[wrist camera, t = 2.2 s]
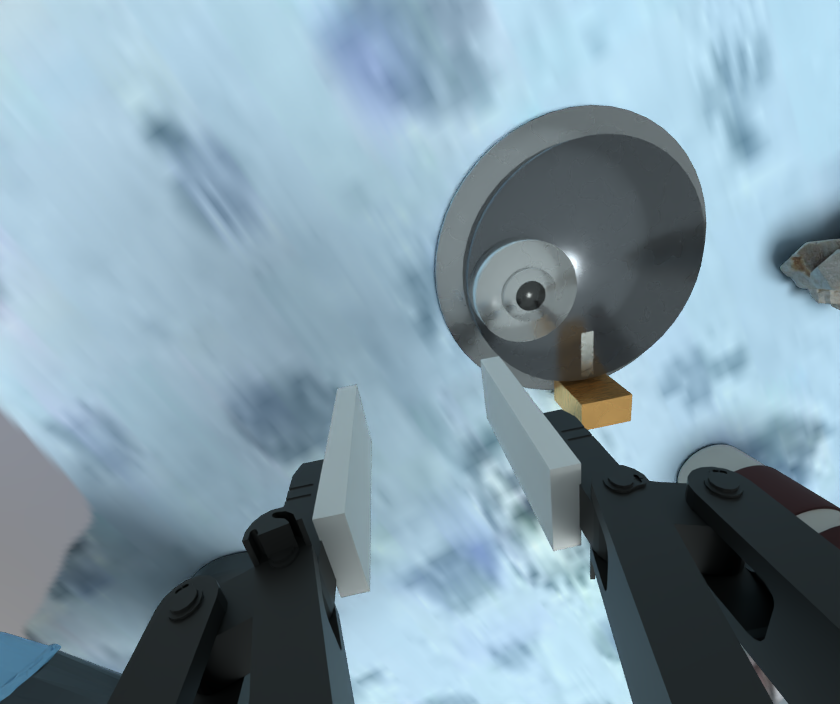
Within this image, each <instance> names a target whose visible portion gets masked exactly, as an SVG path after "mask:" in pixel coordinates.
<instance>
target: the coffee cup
mask: <svg viewBox="0 0 840 704" xmlns="http://www.w3.org/2000/svg"><path fill="white" fill-rule="evenodd" d="M700 467H718V468H724V469H728V470H730V471H733V472H736V473H739V474H740V475H742V476H744V477H745V478H747V479H749V480H750V481H752V482H753V483H754V484H756V485H757V486H758V487H759V488H761V489H762V490H763V491H765V492H766V493H767V494H769V495H770V496H771V497H772V498H774V499H775V500H776V501H778V502H779V503H780V504H781V505H783V506H784V507H785V508H787V509H788V510H789V511H791V512H792V513H793V514H794V515H796V516H797V517H798V518H800V519H801V520H802V521H803V522H805V523H806V524H807V525H809V526H810V527H811V528H812V529H814V530H815V531H816V532H818V533H819V534H820V535H822V536H823V537H824V538H825V539H827V540H828V541H829V542H831V543H832V544H833V545H834V546H836V547H837V548H838V549H840V508H839V507H837V506H835V505H834V504H832V503H830V502H829V501H827V500H825V499H824V498H822V497H820V496H819V495H817V494H815V493H814V492H812V491H810V490H809V489H807V488H806V487H804V486H802V485H801V484H799V483H797V482H796V481H794V480H792V479H791V478H789V477H787V476H786V475H784V474H782V473H781V472H779V471H777V470H776V469H774V468H771V467H768V466H765V465H763V464H762V463H760V462H758V461H757V460H755V459H753V458H752V457H750V456H748V455H747V454H745V453H744V452H742V451H740V450H739V449H737V448H735V447H732V446H730V445H723V444H719V445H712V446H709V447H706V448H703V449H701V450H699V451H698V452H696V453H695V454H693V455H692V456H691V457H690V458H689V459H688V460H687V461H686V462H685V463H684V465H683V466H682V468H681V470H680V472H679V475H678V483H687V477H688V475H689V474H690V472H691V471H692V470H695V469H697V468H700Z"/></svg>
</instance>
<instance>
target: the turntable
mask: <svg viewBox="0 0 840 704" xmlns="http://www.w3.org/2000/svg"><path fill="white" fill-rule="evenodd" d="M512 237H529V238H533V239H537V240H541V241H544V242H547V243H550V244H552V245H554V246H556V247H558V248H559V249H561V250H562V251H563V252H564V253H565V254H566V255H567V256H568V258H569V259H570V260H571V262H572V264H573V266H574V269H575V272H576V277H577V292H576V297H575V300H574V303H573V306H572V308H571V310H570V312H569V314H568V315H567V317H566V318H565V319H564V321H563V322H562V323H561V324H560V325H559V326H558V327H557V328H556V329H554V330H553V331H552V332H550V333H549V334H547V335H545V336H543V337H541V338H538V339H536V340H532V341H526V342H514V341H509V340H505V339H503V338H500V337H499V336H497V335H495V334H494V333H493V332H491V331H490V330H489V329H488V328H487V327H486V325H485V324H484V323H483V322H482V321H481V319H480V318H479V317H478V316H477V314H476V313H475V311H474V309H473V307H472V305H471V302H470V298H469V281H470V276H471V273H472V270H473V268H474V266H475V264H476V263H477V261H478V260H479V258H480V257H481V256H482V254H483V253H484V252H485V251H486V250H488V249H489V248H490V247H491V246H493V245H494V244H496V243H498V242H500V241H502V240H505V239H508V238H512ZM704 237H705V231H704V218H703V213H702V208H701V203H700V200H699V197H698V195H697V192H696V189H695V187H694V185H693V183H692V182H691V180H690V178H689V176H688V174H687V173H686V172H685V171H684V169H683V168H682V167H681V166H680V164H679V163H678V162H677V161H676V160H675V159H674V158H672V157H671V156H670V155H669V154H668V153H667V152H665V151H664V150H662V149H661V148H659V147H657V146H656V145H654V144H652V143H650V142H647V141H645V140H642V139H640V138H636V137H632V136H627V135H623V134H597V135H588V136H584V137H580V138H576V139H572V140H568V141H565V142H561V143H558V144H555V145H553V146H550V147H548V148H545V149H543V150H541V151H539V152H537V153H536V154H534V155H532V156H530V157H529V158H527V159H525V160H524V161H523V162H522V163H520V164H519V165H518V166H516V167H515V168H514V169H512V170H511V171H510V172H509V173H508V174H507V175H506V176H505V177H504V178H503V179H502V180H501V181H500V182H499V183H498V185H497V186H496V187H495V188H494V190H493V191H492V192H491V193H490V195H489V196H488V197H487V199H486V201H485V202H484V204H483V205H482V207H481V209H480V210H479V212H478V214H477V216H476V219H475V221H474V223H473V225H472V227H471V231H470V234H469V237H468V240H467V243H466V248H465V253H464V258H463V272H462V276H463V290H464V295H465V300H466V304H467V307H468V310H469V313H470V316H471V318H472V320H473V322H474V324H475V326H476V328H477V329H478V331H479V332H480V334H481V335H482V337H483V338H484V339H485V341H486V342H487V343H488V345H489V346H490V347H491V349H492V350H493V351H494V352H495V353H496V354H497V355H498V356H499V357H500V358H501V359H503V360H504V361H505V362H507V363H508V364H509V365H510V366H512V367H514V368H516V369H517V370H519V371H521V372H523V373H526V374H528V375H531V376H533V377H537V378H541V379H545V380H553V381H554V399H555V401H556V402H557V403H558V404H559V405H560V407H561V408H562V409H563V410H564V411H566V412H568V413H570V414H572V415H574V416H575V417H576V418H577V419H578V420H579V421H580V422H581V423H582V424H583V425H584V428H586V429H587V430H589V429H594V428H599V427H603V426H608V425H613V424H618V423H623V422H627V421H631V407H632V394H631V393H630V392H628V391H627V390H626V389H624V388H623V387H622V386H621V385H619V384H618V383H617V382H616V381H614V380H613V379H612V378H610V377H609V376H608V375H607V374H606V373H608V372H611V371H613V370H616V369H618V368H620V367H622V366H623V365H625V364H627V363H629V362H631V361H632V360H634V359H635V358H637V357H638V356H640V355H641V354H642V353H644V352H645V351H646V350H647V349H649V348H650V347H651V346H652V345H653V344H654V343H655V342H656V341H657V340H658V339H659V338H661V337H662V336H663V335H664V333H665V332H666V331H667V330H668V329H669V327H670V326H671V325H672V324H673V323H674V321H675V320H676V318H677V317H678V315H679V314H680V312H681V311H682V309H683V308H684V306H685V304H686V302H687V300H688V299H689V297H690V295H691V292H692V290H693V287H694V285H695V283H696V280H697V277H698V273H699V270H700V267H701V262H702V257H703V251H704Z"/></svg>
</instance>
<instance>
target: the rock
mask: <svg viewBox="0 0 840 704" xmlns="http://www.w3.org/2000/svg"><path fill="white" fill-rule="evenodd" d="M780 269H781V271H782V272H783V273H784V274H786V276H787V277H790V278H791V279H792V280H793V281H794V282H795V284H796V286H797V287H799V288H802V289H808V290H809V292H810V294H811V296H812V298H813V299H814V300H816V301H817V302H818V303H825V304H831V306H833V307H834V308H836V309H839V310H840V239H827V240H820V241H811V242H806V243H805V244H804V245H802V246H801V247H800V248H799V249H798V250H797V251H796V252H795V253H794V254H793V255H792V256H791V257H790V258H789V259H788V260H787V261H785V262H784V263H783V264H782V265H781V266H780Z"/></svg>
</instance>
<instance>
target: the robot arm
mask: <svg viewBox="0 0 840 704" xmlns="http://www.w3.org/2000/svg"><path fill="white" fill-rule="evenodd" d="M480 362H481V371H482V379H483V388H484V397H485V405H486V414H487V419H488V421H489V423H490V425H491V427H492V429H493V431H494V433H495V435H496V437H497V439H498V441H499V443H500V445H501V447H502V449H503V451H504V453H505V455H506V457H507V459H508V461H509V463H510V465H511V467H512V469H513V471H514V473H515V475H516V477H517V479H518V481H519V483H520V485H521V487H522V489H523V491H524V493H525V495H526V497H527V499H528V501H529V503H530V505H531V507H532V509H533V511H534V513H535V515H536V517H537V519H538V521H539V523H540V525H541V527H542V529H543V531H544V533H545V535H546V537H547V539H548V541H549V543H550V545H551V547H552V549H553V551H557V550H561V549H566V548H570V547H575V546H579V545H581V530H582V531H583V533H584V535H585V536H586V538H587V540H588V541H589V543H590V579H595V575H596V578H597V582H598V585H599V589H600V592H601V596H602V599H603V603H604V606H605V609H606V613H607V616H608V620H609V623H610V627H611V630H612V634H613V637H614V640H615V644H616V647H617V651H618V654H619V658H620V661H621V665H622V668H623V671H624V675H625V678H626V682H627V685H628V689H629V692H630V696H631V699H632V702H633V704H773V702H772V700H771V698H770V696H769V695H768V693H767V691H766V689H765V687H764V686H763V684H762V682H761V680H760V678H759V677H758V675H757V673H756V671H755V669H754V668H753V666H752V664H751V662H750V661H749V659H748V657H747V655H746V653H745V652H744V650H743V648H742V646H743V647H744V649H745V650H746V651H747V652H748V654H749V655H750V656H751V657H752V659H753V660H754V661H755V662H756V664H757V665H758V666H759V667H760V669H761V670H762V671H763V672H764V674H765V675H766V676H767V677H768V679H769V680H770V681H771V682H772V684H773V685H774V686H775V687H776V689H777V690H778V691H779V692H780V694H781V695H782V696H783V697H784V699H785V700H786V701H787V702H788V704H840V549H838V548H837V547H836V546H834V545H833V544H832V543H831V542H829V541H828V540H827V539H825V538H824V537H823V536H822V535H820V534H819V533H818V532H816V531H815V530H814V529H812V528H811V527H810V526H809V525H807V524H806V523H805V522H803V521H802V520H801V519H800V518H798V517H797V516H796V515H794V514H793V513H792V512H791V511H789V510H788V509H787V508H785V507H784V506H783V505H781V504H780V503H779V502H778V501H776V500H775V499H774V498H772V497H771V496H770V495H769V494H767V493H766V492H765V491H763V490H762V489H761V488H759V487H758V486H757V485H756V484H754V483H753V482H752V481H750V480H749V479H747V478H745V477H744V476H742V475H740V474H739V473H736V472H733V471H730V470H728V469H724V468H718V467H700V468H697V469H695V470H692V471H691V472H690V474H689V475H688V477H687V483H667V482H654V481H649V480H648V479H647V478H646V477H645V475H644V474H642V473H640V472H639V471H637V470H635V469H633V468H630V467H627V466H624V465H619V464H618V463H617V462H616V461H615V460H614V459H613V458H612V457H611V455H610V454H609V453H608V452H607V451H606V450H605V449H604V448H603V447H602V445H601V444H600V443H599V442H598V441H597V440H596V439H595V438H594V437H593V436H592V435H591V433H590V432H589V431H588V430H587V429H586V428H584V425H583V424H582V423H581V422H580V421H579V420H578V419H577V418H576V417H575V416H574V415H572V414H570V413H568V412H566V411H564V410H562V409H561V410H556V411H551V412H547V413H542V411H541V410H540V409H539V408H538V406H537V405H536V404H535V402H534V401H533V400H532V398H531V397H530V396H529V394H528V393H527V392H526V391H525V389H524V388H523V387H522V385H521V384H520V383H519V381H518V380H517V379H516V377H515V376H514V375H513V374H512V372H511V371H510V370H509V368H508V367H507V366H506V364H505V363H504V362H503V360H502V359H501V358H500V357H499V356H496V357H491V358H486V359H481V360H480ZM371 456H372V441H371V437H370V433H369V430H368V426H367V422H366V418H365V414H364V410H363V407H362V403H361V399H360V395H359V391H358V387H357V384H356V385H351V386H346V387H341V388H337V393H336V398H335V403H334V408H333V414H332V419H331V424H330V429H329V434H328V440H327V445H326V450H325V455H324V459H323V460H318V461H313V462H308V463H303V464H302V465H301V466H300V467H299V469H298V470H297V471H296V473H295V474H294V475H293V477H292V480H291V484H290V487H289V491H288V494H287V498H286V502H285V505H284V507H282V508H278V509H274V510H271V511H269V512H267V513H265V514H263V515H261V516H260V517H259V518H258V519H256V520H255V521H254V522H253V523H252V524H251V525H250V526H249V528H248V529H247V530H246V532H245V534H244V537H243V540H242V542H243V544H244V546H245V548H246V550H247V552H244V553H238V554H233V555H229V556H225V557H222V558H220V559H217V560H215V561H213V562H211V563H209V564H207V565H206V566H204V567H203V568H202V569H200V570H199V571H198V572H197V573H196V574H195V575H194V576H193V577H192V578H191V579H189V580H186V581H185V582H183V583H182V584H180V585H178V586H177V587H175V588H174V589H173V590H172V591H171V592H170V593H169V594H168V595H167V596H166V597H165V598H164V599H163V600H162V601H161V603H160V604H159V606H158V607H157V609H156V610H155V612H154V614H153V616H152V618H151V620H150V622H149V624H148V626H147V627H146V629H145V631H144V633H143V635H142V637H141V639H140V641H139V643H138V645H137V647H136V649H135V651H134V653H133V654H132V656H131V658H130V660H129V662H128V664H127V666H126V668H125V670H124V672H123V674H121V673H118V672H115V671H113V670H110V669H107V668H105V667H102V666H99V665H96V664H94V663H91V662H88V661H86V660H83V659H80V658H78V657H75V656H72V655H70V654H67V653H64V652H62V651H59V649H60V648H61V646H60V645H58V644H52V645H49V646H48V645H45V644H41V643H38V642H35V641H32V640H28V639H25V638H22V637H18V636H15V635H12V634H8V633H5V632H0V704H354V698H353V692H352V687H351V681H350V675H349V670H348V664H347V658H346V653H345V647H344V641H343V636H342V630H341V624H340V619H339V614H338V611H337V608H336V606H335V603H334V601H335V591H336V586H337V588H338V591H339V594H340V596H341V597H346V596H351V595H355V594H360V593H364V592H369V591H370V539H371ZM739 642H740V643H739ZM741 645H742V646H741Z"/></svg>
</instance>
